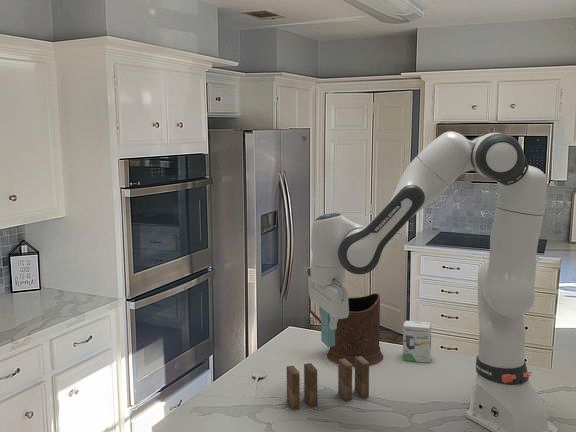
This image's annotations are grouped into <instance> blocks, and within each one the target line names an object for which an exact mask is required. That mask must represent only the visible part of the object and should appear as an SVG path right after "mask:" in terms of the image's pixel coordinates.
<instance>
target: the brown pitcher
mask: <svg viewBox="0 0 576 432" xmlns="http://www.w3.org/2000/svg"><path fill="white" fill-rule="evenodd" d="M348 303H349V315H348V317H347V318H344V319H338V322H337V329H335V346H332V347H329V349H328V350H327V352H326V355H327V356H326V358H327V359H328V361H330V362H332V363H334V364H335V365H338V359H344V358H345V359H346V360H347V361H348V362H349V363H350V364H352V368H355V357H359V356H362V357H363V358H364V359H365V360H366V361H368V362H369V367H371V366H375V365H378V364H380V363H382V361H383V360H384V354H383V353H382V351H381V347H380V332H381V331H380V325H381V323H380V322H381V319H380V318H381V317H380V316H381V313H380V312H381V295H380V293H372V294H369V295H364V296H359V297H348ZM308 309H309V310H308V311H309V313H310V314H311V315H312V317H314V318H315V319H316V320H317V322H318V323H319V324H321V320H320V317H318V315H316V313H315V312H314V311H312V300H311V299H310V296H309V295H308Z"/></svg>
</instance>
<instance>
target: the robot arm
mask: <svg viewBox="0 0 576 432" xmlns="http://www.w3.org/2000/svg"><path fill="white" fill-rule="evenodd" d="M470 171H473V172H475V173H476V174H478V175H480V176H482V177H484V178H486V179H491V180H493V181H495V182H496V183H497V186H498V196H497V200H496V206H495V210H494V216H493V220H492V225H491V230H490V237H489V258H488V261H485V262H484V263H483V264H481V267H480V268H479V271H478V274H477V309H478V310H477V311H478V351H477V352H478V355H477V356H476V360H475V371H476V377H475V380H474V381H473V384H472V388H471V397H470V404H469V407H468V408H469V409H468V410H466V415H465V416H466V418H467V419H470V420H471V421H472V422H475V424H478V425H480V426H481V427H482V428H484V429H487V430H489V431H490V432H559V429H558V428H557V426H555V425H554V424H553V423H552V422H551V421H550V420H549V415H548V414H549V413H548V408H547V405H546V404H545V399H544V397H543V396H541V395H539V393H538V392H537V391H536V390H535V388H534V386H533V385H532V383H531V382H530V379H529V378H530V377H532V376H533V375H531V374H532V373H533V372H532V371H528V367H527V363H526V361H525V354H526V353H525V352H526V328H525V327H526V326H525V318H524V315H526V314H527V313H528V312H530V311H531V309H532V308H533V306H534V303H535V283H536V274H537V254H538V253H537V252H538V246H539V245H538V244H539V240H540V235H541V230H542V225H543V219H544V214H545V211H546V210H545V209H546V203H547V191H548V190H547V189H548V186H547V185H548V180H547V176H546V173H544V171H542V170H541V169H540V168H537V167H536V166H532V165H529V164H528V160H527V158H526V155H525V152H524V150H523V147H522V146H521V144H520V142H519V141H518V140H517V139H516V138H515V137H513V136H512V135H510V134H506V133H503V132H489V133H487V134H483V135H479V136H477V137H474V138H471V139H468V138H467V137H466V136H464V135H463V134H461V133H459V132H456V131H451V130H450V131H446V132H444V133H442V134H440V135H439V136H438V137H436V138H435V139H434V140H433V141H431V142H430V143H428V144H427V145H426V146H425V147H424V148H423V149H422V150H421V151H420V152H419V153H418V154H417V155H416V156H415V157H414V159H412V161H411V162H410V163H409V164H408V165H407V167H406V169H404V170H403V173H402V174H401V176H400V177H399V179H398V182H397V186H396V188H395V190H394V191H393V192H394V193H393V195H392V197H391V198H390V200H389V201H388V202H387V204H386V205H385V206H384V207H383V209H381V211H380V212H379V213H378V214H377V215H376V216H375V217H374V219H372V220H371V222H370V223H368V225H367V226H365V225H362V224H359V223H356V222H354V221H351V220H350V219H348V218H347V217H345V216H344V215H343V214H342V213H339V212H337V213H336V212H333V213H327V214H323V215H320V216H318V217H317V218H316V219H315V220H314V221H313V223H312V227H311V239H310V240H311V241H310V242H311V244H310V246H311V252H312V259H311V262H310V263H311V266H309V267H306V275H307V277H308V278H307V284H308V285H307V286H308V297H309V296H310V299H311V301H313V302H314V303H315V304H316V305H317V309H318V314H319V319H320V320H321V308H323V309H324V310H325V311H326V312H328V313H329V314H330V322H329V328H330V329H331V330H335V329H337V322H338V319H344V318H347V317H348V315H349V303H348V298H349V295H348V291H347V289H346V288H345V287H344V285H343V283H344V282H345V281H346V276H345V275H346V271H347V272H349V273H351V274H354V275H365V274H368V273H371V272H372V271H373V270H375V269H376V267H377V266H378V264H379V262H380V260H381V259H380V258H381V257H382V252H383V250H384V248H385V247H386V246H387V244H388V243H389V242H390V241H391V240H392V238H393V237H395V235H396V234H397V233H398V232H399V231H401V229H402V228H403V227H404V226H405V225H406V223H407V222H408V221H409V220H410V219H411V218H413V216H415V215H416V214H417V213H419V212H420V211H422V210H423V209H424V208H425V207H427V206H428V205H430V204H431V203H432V202H434V201H435V200H436V199H437V198H439V197H440V196H441V195H443V193H445V191H447V190H448V189H449V187H450V186H451V185H452V184H453V183H455V181H456V180H457V179H458V178H459V177H460V176H462V175H463V174H465V173H468V172H470Z"/></svg>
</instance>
